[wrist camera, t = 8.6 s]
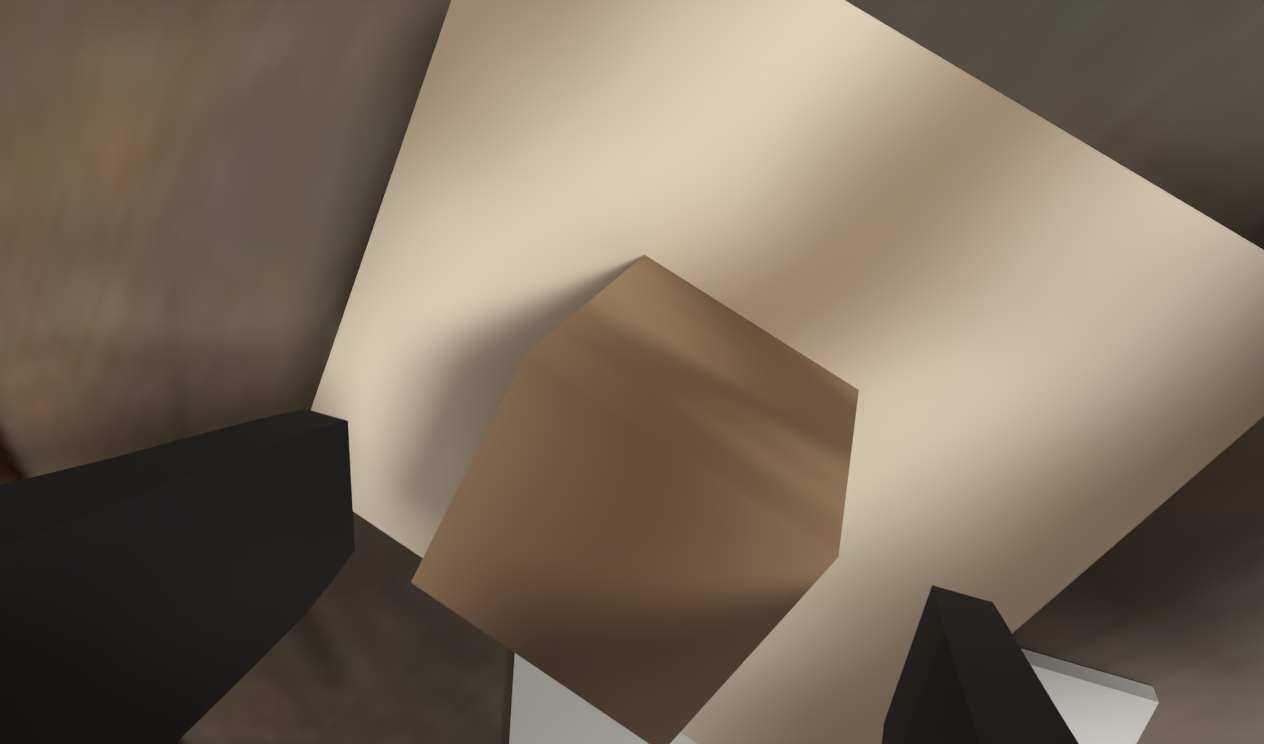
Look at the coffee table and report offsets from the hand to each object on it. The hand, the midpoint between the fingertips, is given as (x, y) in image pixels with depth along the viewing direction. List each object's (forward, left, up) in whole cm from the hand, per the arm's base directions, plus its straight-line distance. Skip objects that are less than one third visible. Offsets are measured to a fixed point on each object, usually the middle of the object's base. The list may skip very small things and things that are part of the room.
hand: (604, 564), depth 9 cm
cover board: (0, 0, -5) cm, 5 cm away
